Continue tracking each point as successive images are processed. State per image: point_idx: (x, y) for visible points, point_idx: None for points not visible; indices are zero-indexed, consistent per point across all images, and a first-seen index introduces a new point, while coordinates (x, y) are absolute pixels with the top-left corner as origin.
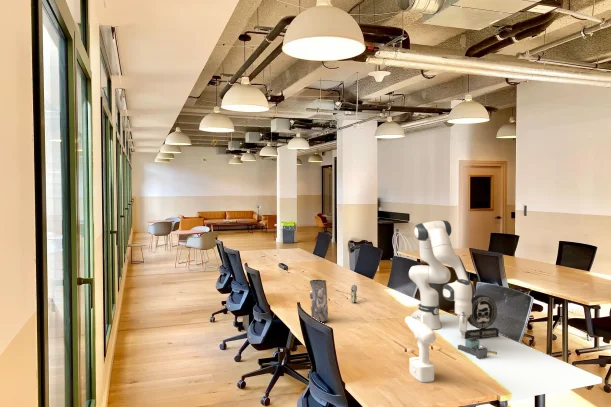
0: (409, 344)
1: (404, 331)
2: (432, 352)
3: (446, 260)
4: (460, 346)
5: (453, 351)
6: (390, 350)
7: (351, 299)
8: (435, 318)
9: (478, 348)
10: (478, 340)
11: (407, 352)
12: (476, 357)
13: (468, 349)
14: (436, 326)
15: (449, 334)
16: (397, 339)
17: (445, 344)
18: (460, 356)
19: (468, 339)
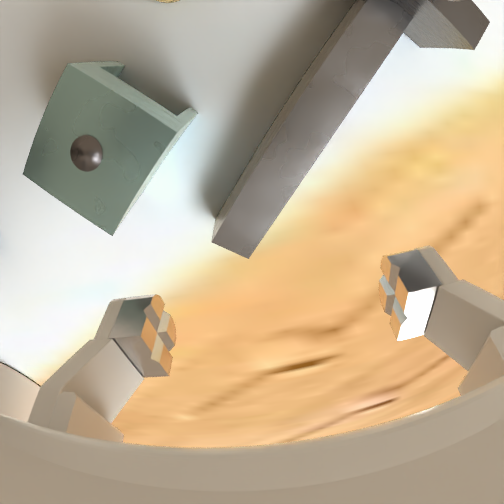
0: (298, 419)
1: (146, 440)
2: (389, 340)
3: None
4: (268, 227)
5: (327, 251)
6: (391, 420)
7: None
8: (5, 414)
9: (120, 65)
10: (63, 75)
11: (405, 392)
12: (426, 44)
13: (335, 129)
14: (15, 383)
15: (15, 329)
16: (256, 443)
17: (187, 328)
18: (428, 179)
19: (105, 199)
